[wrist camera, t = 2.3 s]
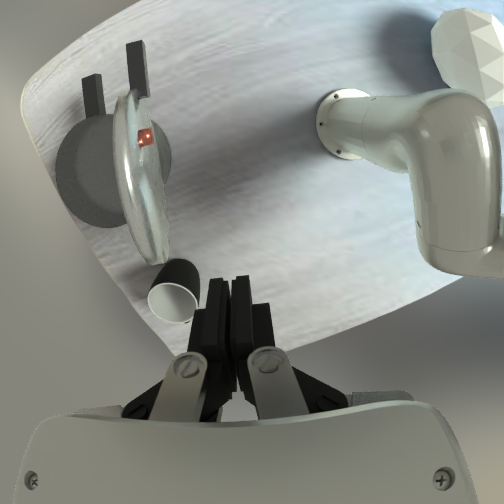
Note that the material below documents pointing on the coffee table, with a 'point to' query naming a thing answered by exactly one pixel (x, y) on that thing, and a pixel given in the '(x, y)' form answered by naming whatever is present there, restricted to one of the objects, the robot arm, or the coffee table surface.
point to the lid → (140, 163)
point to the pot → (96, 162)
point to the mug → (175, 292)
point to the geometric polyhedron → (471, 53)
